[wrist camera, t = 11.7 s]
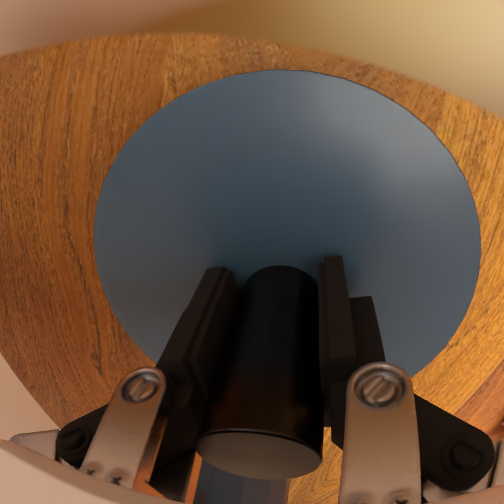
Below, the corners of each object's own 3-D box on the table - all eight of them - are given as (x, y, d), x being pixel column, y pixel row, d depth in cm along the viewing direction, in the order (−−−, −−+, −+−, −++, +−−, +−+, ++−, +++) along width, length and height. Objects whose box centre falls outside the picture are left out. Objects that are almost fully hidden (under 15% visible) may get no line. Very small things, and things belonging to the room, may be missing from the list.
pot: (197, 487, 32) (182, 541, 24) (132, 416, 24) (97, 495, 16) (297, 495, 29) (289, 556, 21) (276, 430, 21) (260, 534, 13)
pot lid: (176, 391, 16) (134, 497, 10) (67, 134, 10) (-86, 205, 4) (437, 378, 13) (463, 500, 7) (465, 62, 6) (638, 73, 1)
